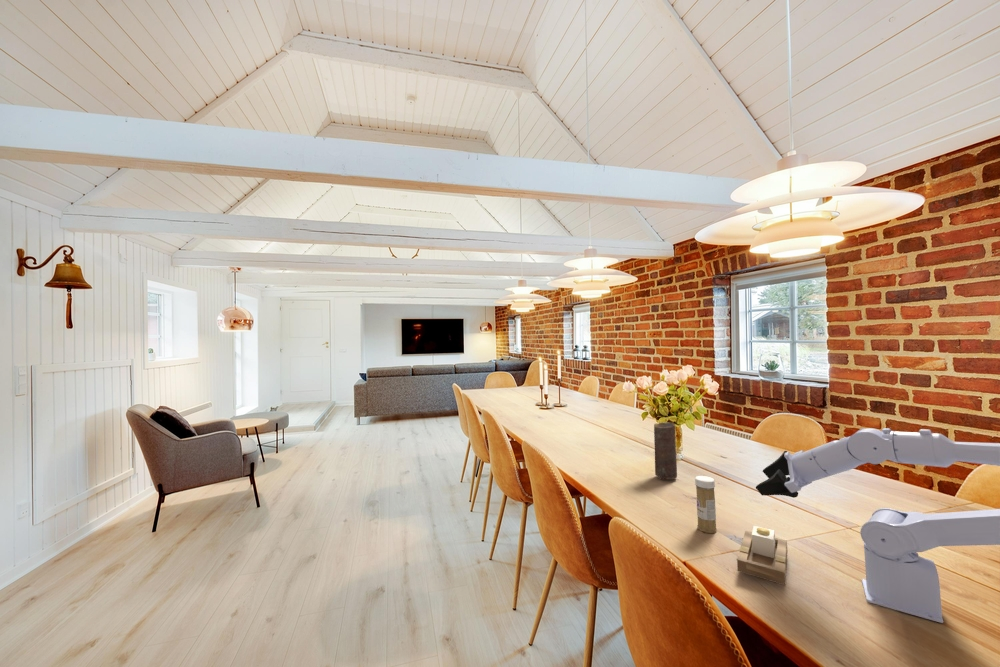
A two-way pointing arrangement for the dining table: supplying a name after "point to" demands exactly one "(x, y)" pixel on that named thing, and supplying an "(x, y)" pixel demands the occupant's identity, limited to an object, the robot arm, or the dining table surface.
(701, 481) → the sprinkles bottle
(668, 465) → the candle
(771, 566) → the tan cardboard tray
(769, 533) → the block
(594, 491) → the dining table surface
